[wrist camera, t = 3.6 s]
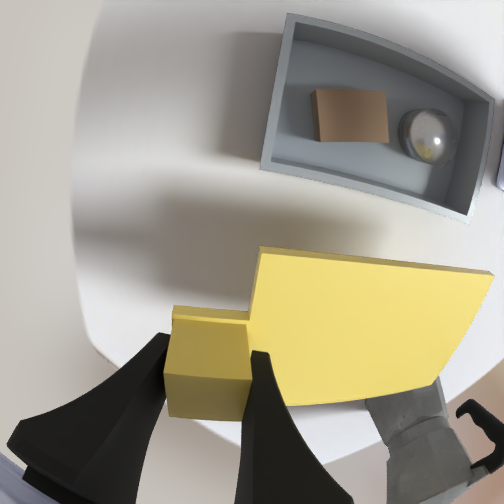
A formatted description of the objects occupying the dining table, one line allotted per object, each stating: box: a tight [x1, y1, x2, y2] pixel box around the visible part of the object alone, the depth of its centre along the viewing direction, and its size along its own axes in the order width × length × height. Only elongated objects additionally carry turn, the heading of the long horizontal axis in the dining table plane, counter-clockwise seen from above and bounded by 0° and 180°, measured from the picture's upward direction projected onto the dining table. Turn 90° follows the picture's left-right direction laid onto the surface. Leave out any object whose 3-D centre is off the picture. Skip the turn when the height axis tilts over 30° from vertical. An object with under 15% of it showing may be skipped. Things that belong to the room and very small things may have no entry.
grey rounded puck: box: [398, 109, 458, 166], centre depth 14 cm, size 4×4×2 cm
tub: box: [259, 13, 495, 225], centre depth 14 cm, size 14×9×4 cm, turn 81°
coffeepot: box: [365, 375, 504, 504], centre depth 17 cm, size 15×9×18 cm, turn 157°
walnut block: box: [310, 89, 389, 143], centre depth 14 cm, size 4×3×2 cm
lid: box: [163, 246, 494, 421], centre depth 11 cm, size 17×9×4 cm, turn 82°
